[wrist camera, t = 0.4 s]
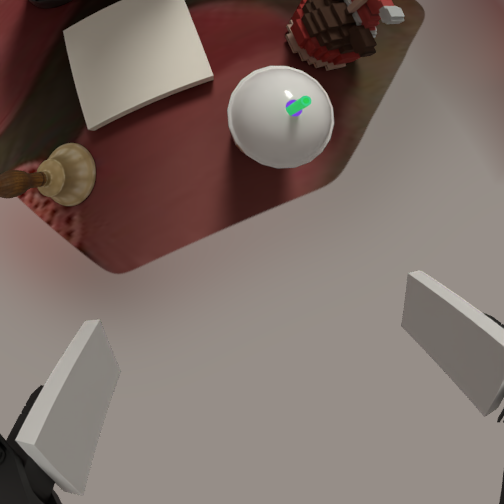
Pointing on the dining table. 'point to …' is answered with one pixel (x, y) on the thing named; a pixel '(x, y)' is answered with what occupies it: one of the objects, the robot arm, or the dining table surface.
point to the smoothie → (280, 117)
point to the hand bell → (56, 176)
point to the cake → (338, 29)
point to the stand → (134, 57)
